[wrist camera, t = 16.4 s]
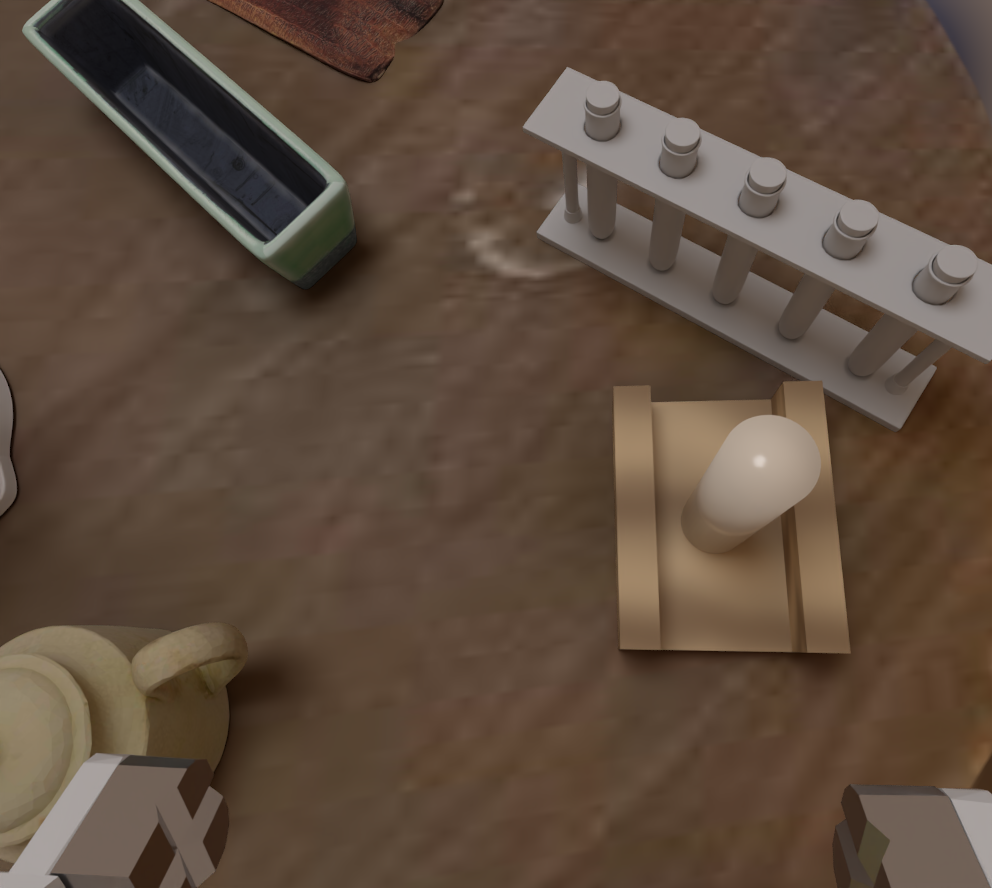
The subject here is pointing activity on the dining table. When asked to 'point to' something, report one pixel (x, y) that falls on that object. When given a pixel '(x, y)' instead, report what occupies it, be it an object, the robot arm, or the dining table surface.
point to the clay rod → (750, 482)
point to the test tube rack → (751, 227)
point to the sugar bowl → (105, 707)
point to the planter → (203, 132)
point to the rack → (734, 574)
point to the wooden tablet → (340, 28)
